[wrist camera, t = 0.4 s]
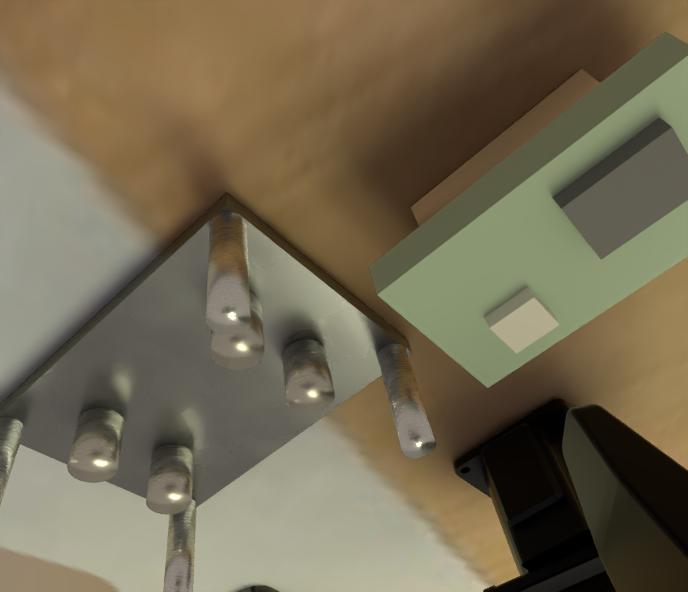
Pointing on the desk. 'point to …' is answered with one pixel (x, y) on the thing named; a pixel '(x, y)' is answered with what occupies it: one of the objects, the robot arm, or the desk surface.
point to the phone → (259, 589)
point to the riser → (504, 145)
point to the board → (555, 224)
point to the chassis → (208, 373)
